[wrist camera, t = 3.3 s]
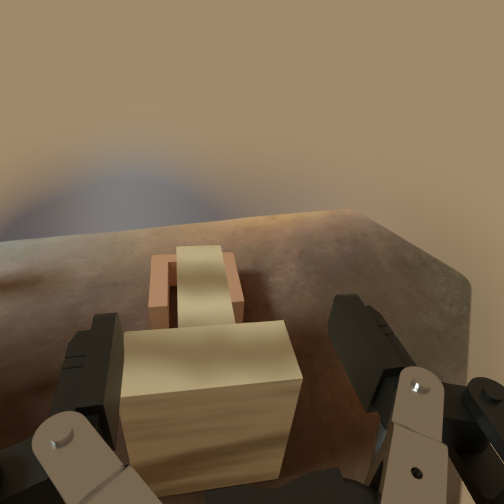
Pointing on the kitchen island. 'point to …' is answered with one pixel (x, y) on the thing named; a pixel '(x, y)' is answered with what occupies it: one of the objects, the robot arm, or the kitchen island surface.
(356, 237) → the kitchen island surface
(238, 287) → the frame
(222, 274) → the t block
